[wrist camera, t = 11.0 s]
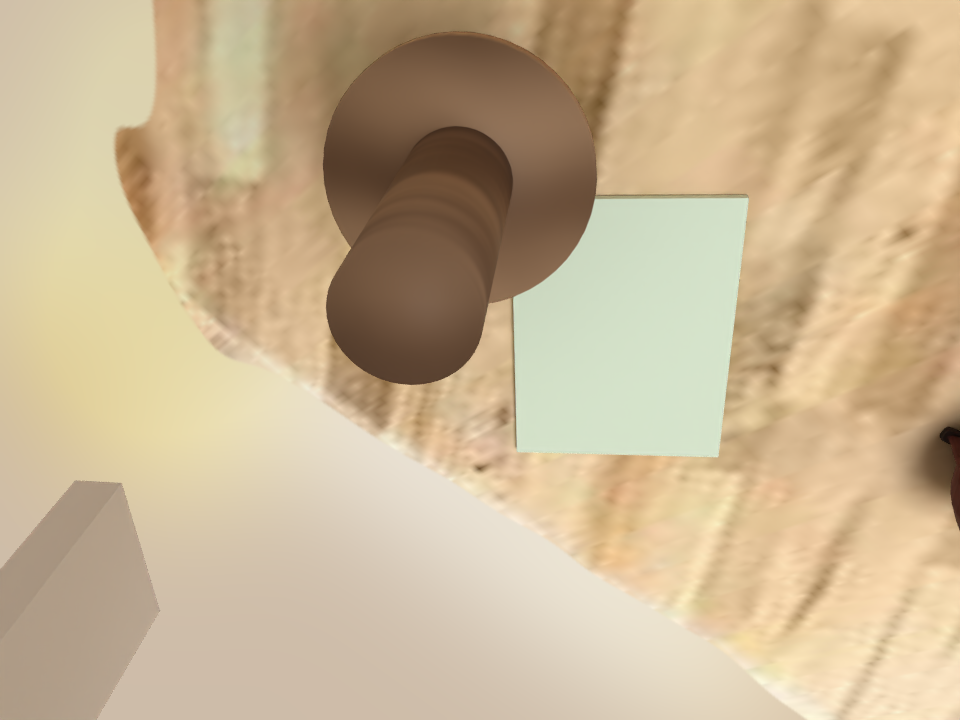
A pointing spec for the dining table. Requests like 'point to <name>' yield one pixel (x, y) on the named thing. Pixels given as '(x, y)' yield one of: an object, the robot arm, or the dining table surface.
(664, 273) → the mat
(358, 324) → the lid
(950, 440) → the mate gourd
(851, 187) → the dining table surface
